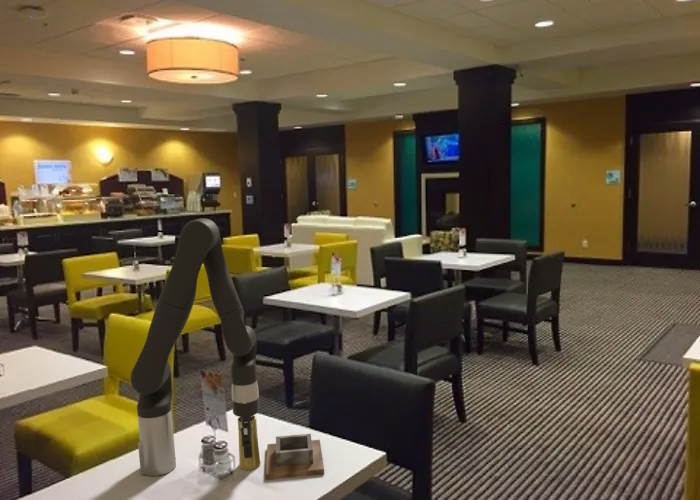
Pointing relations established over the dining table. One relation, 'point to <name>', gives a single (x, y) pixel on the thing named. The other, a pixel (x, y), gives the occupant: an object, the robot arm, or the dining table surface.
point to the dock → (294, 457)
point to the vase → (255, 459)
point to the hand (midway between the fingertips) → (248, 452)
